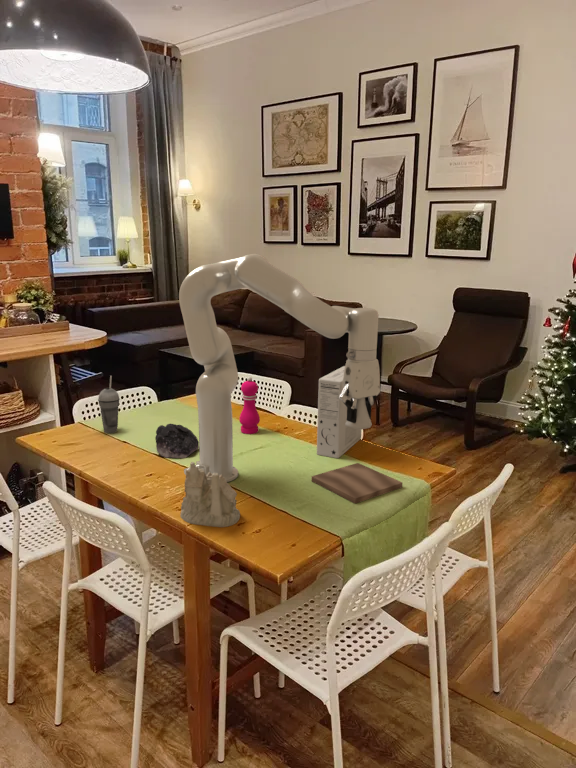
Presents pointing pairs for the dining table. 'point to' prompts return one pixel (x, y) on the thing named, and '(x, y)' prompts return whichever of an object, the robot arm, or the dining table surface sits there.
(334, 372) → the cereal box
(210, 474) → the miniature castle
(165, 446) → the crystal cluster
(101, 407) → the beverage cup
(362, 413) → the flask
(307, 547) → the dining table surface
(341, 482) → the walnut board
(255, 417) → the pepper mill
